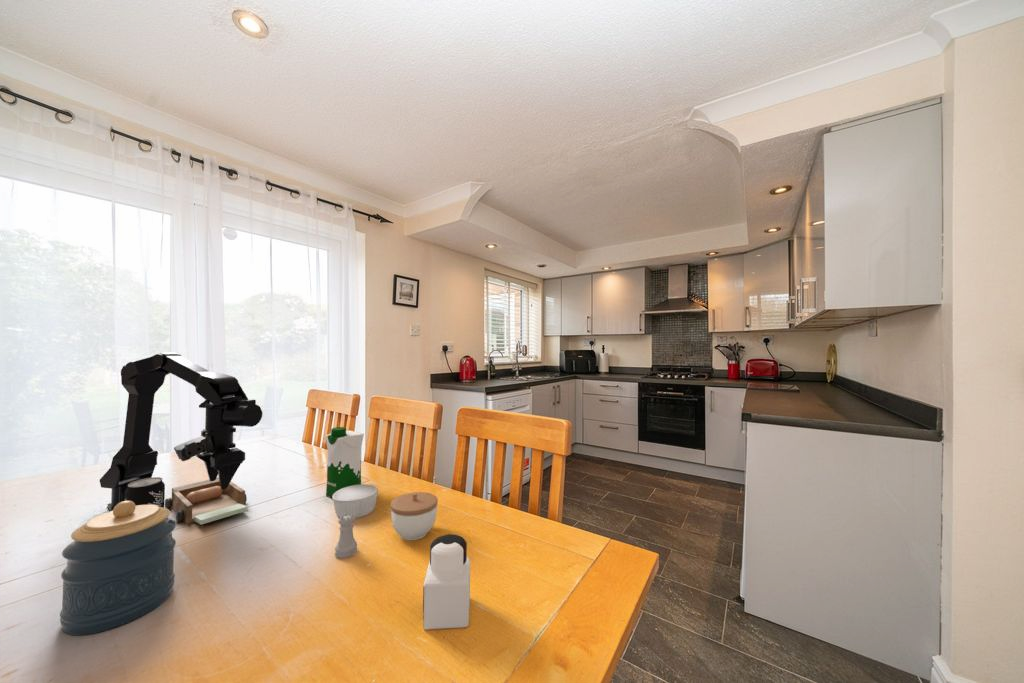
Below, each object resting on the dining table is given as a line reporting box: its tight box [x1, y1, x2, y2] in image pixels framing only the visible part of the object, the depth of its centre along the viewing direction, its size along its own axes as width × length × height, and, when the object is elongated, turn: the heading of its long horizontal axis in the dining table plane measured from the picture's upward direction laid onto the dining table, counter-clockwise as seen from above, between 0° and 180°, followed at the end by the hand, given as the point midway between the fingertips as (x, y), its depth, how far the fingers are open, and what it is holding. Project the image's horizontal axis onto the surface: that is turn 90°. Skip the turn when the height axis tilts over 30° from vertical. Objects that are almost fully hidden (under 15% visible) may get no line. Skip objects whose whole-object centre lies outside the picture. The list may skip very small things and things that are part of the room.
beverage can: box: [125, 476, 166, 508], centre depth 84 cm, size 7×7×12 cm
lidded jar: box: [390, 491, 438, 541], centre depth 85 cm, size 11×11×9 cm
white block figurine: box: [422, 533, 471, 631], centre depth 60 cm, size 7×7×12 cm
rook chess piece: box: [334, 513, 358, 559], centre depth 77 cm, size 4×4×8 cm
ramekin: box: [331, 483, 379, 519], centre depth 96 cm, size 11×11×5 cm
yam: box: [186, 486, 223, 504], centre depth 99 cm, size 3×8×3 cm, turn 144°
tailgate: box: [194, 503, 249, 526], centre depth 91 cm, size 1×9×6 cm
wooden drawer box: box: [164, 476, 248, 525], centre depth 98 cm, size 18×14×4 cm
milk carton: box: [325, 426, 365, 498], centre depth 107 cm, size 9×9×20 cm
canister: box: [59, 501, 177, 636], centre depth 60 cm, size 13×13×18 cm
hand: (218, 484), depth 93 cm, fingers open, 9 cm apart
